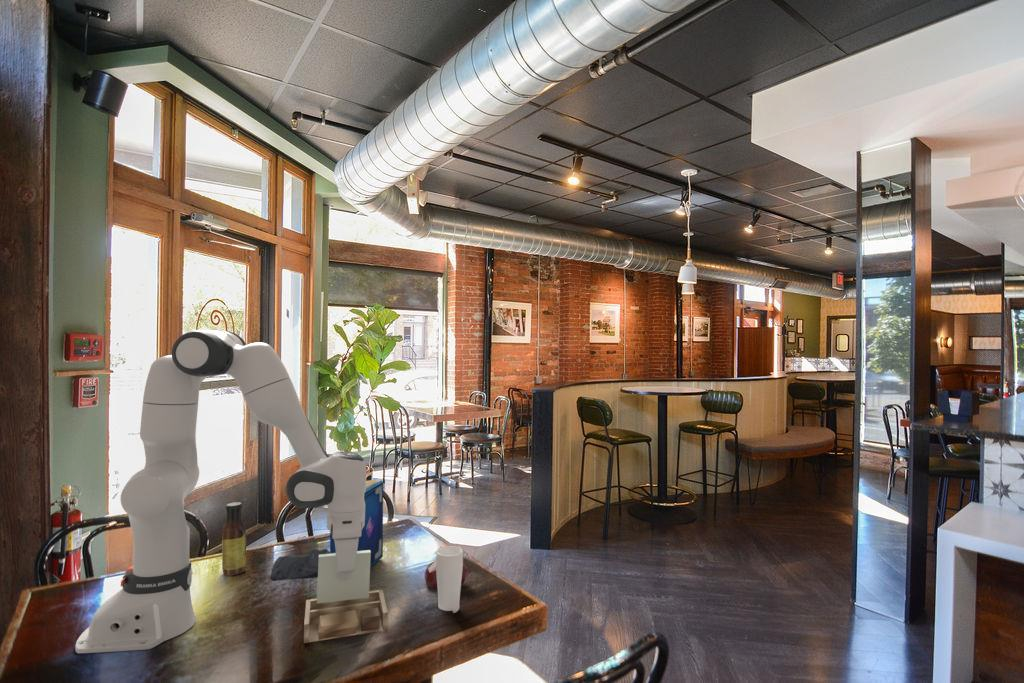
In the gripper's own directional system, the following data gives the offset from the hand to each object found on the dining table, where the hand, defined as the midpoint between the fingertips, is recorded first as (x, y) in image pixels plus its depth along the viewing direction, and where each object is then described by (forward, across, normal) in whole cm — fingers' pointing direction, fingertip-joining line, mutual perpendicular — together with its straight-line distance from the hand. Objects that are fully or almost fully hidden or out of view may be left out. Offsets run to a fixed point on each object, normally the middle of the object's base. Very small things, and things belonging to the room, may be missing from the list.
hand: (343, 576), depth 128 cm
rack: (+11, +4, +1) cm, 11 cm away
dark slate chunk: (+12, -35, -8) cm, 38 cm away
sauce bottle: (+12, -38, -29) cm, 50 cm away
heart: (+10, -11, +28) cm, 32 cm away
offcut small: (+9, +7, +6) cm, 13 cm away
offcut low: (+9, +7, -1) cm, 12 cm away
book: (+11, -27, +5) cm, 30 cm away
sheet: (+5, 0, 0) cm, 5 cm away
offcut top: (+8, +7, -1) cm, 11 cm away
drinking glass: (+10, +3, +26) cm, 28 cm away
